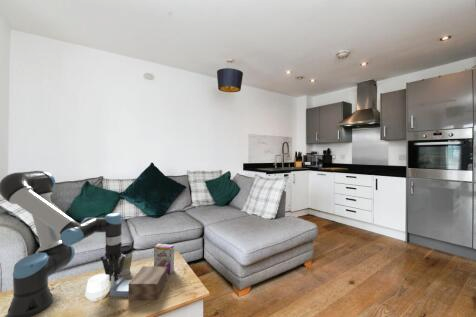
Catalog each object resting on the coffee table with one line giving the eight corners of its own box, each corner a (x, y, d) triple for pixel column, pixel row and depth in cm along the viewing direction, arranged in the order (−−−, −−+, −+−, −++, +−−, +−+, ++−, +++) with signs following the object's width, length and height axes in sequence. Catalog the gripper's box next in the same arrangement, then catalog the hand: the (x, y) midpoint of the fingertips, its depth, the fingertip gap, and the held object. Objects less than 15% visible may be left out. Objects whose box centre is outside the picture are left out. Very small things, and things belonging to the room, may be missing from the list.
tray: (109, 296, 109) (109, 288, 109) (120, 285, 119) (120, 277, 119) (137, 296, 109) (137, 288, 109) (145, 285, 119) (145, 277, 119)
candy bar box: (153, 272, 131) (153, 246, 130) (157, 268, 135) (158, 243, 135) (170, 274, 129) (170, 248, 128) (174, 270, 134) (174, 244, 133)
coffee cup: (125, 277, 125) (125, 252, 125) (111, 275, 127) (111, 250, 126) (136, 269, 134) (136, 245, 134) (123, 267, 136) (123, 244, 136)
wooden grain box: (128, 300, 106) (128, 283, 106) (142, 280, 122) (142, 266, 122) (156, 300, 106) (156, 283, 106) (167, 280, 122) (167, 266, 122)
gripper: (96, 246, 109) (97, 291, 110) (122, 246, 110) (122, 291, 110) (105, 240, 117) (105, 282, 117) (129, 240, 117) (129, 282, 117)
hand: (113, 286), depth 114 cm, fingers closed
